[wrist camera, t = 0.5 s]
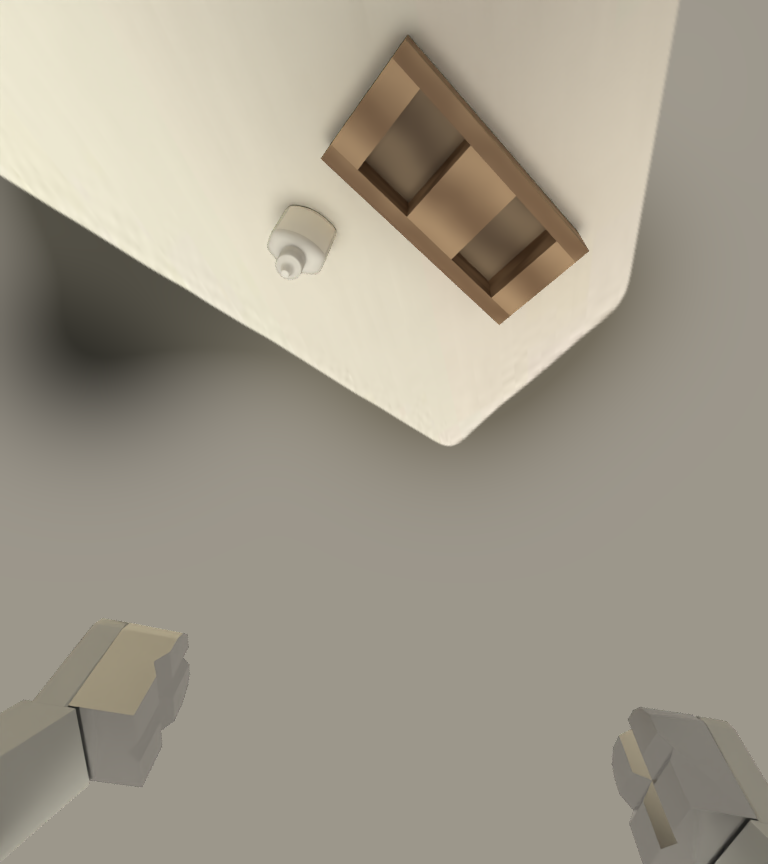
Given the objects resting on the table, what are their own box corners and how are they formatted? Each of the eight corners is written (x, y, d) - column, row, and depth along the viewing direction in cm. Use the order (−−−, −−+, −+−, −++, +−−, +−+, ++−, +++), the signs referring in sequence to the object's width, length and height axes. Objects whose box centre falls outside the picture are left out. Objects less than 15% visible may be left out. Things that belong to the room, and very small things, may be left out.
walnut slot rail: (407, 34, 41) (405, 39, 37) (577, 231, 51) (589, 251, 47) (329, 145, 47) (320, 158, 43) (494, 303, 57) (499, 325, 53)
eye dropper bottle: (309, 190, 50) (282, 233, 41) (342, 237, 53) (323, 287, 44) (277, 213, 52) (245, 260, 43) (311, 258, 55) (287, 310, 46)
